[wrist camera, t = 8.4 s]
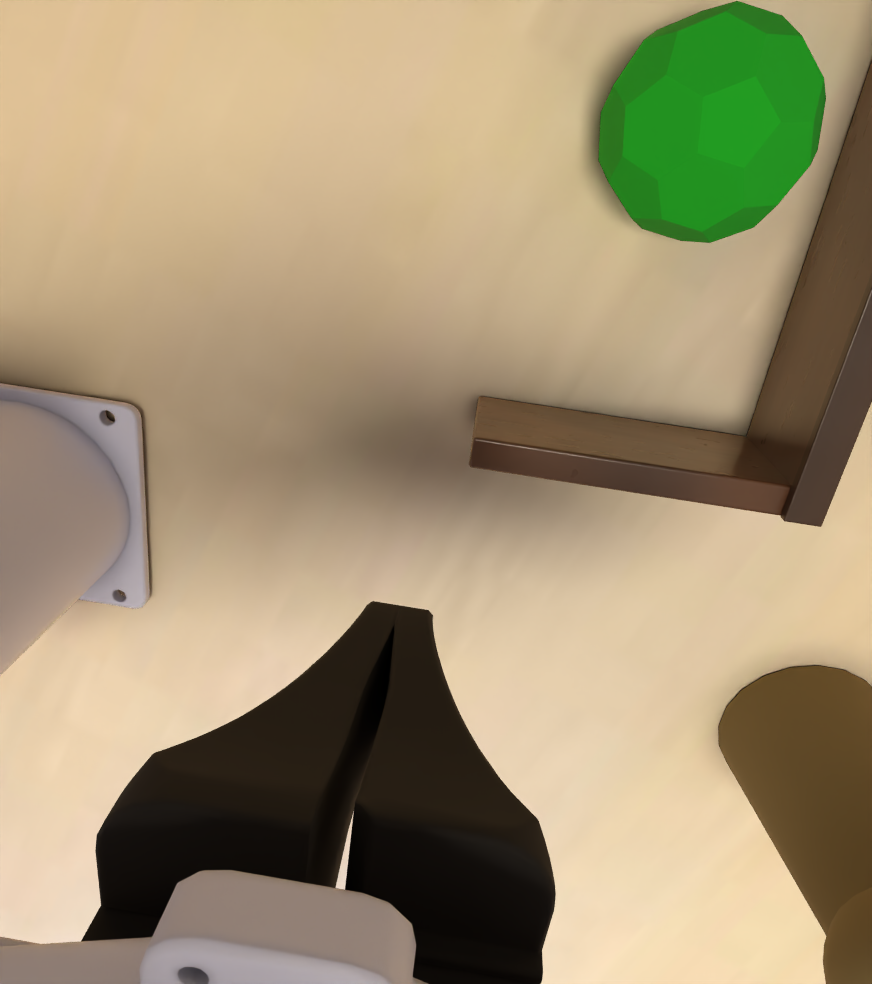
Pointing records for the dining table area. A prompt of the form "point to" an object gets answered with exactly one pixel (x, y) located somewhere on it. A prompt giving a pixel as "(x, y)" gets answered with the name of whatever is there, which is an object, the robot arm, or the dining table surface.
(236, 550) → the dining table surface
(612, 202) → the dining table surface
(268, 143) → the dining table surface
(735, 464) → the brown l-shaped bars
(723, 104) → the polyhedron
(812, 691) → the brown pawn piece
